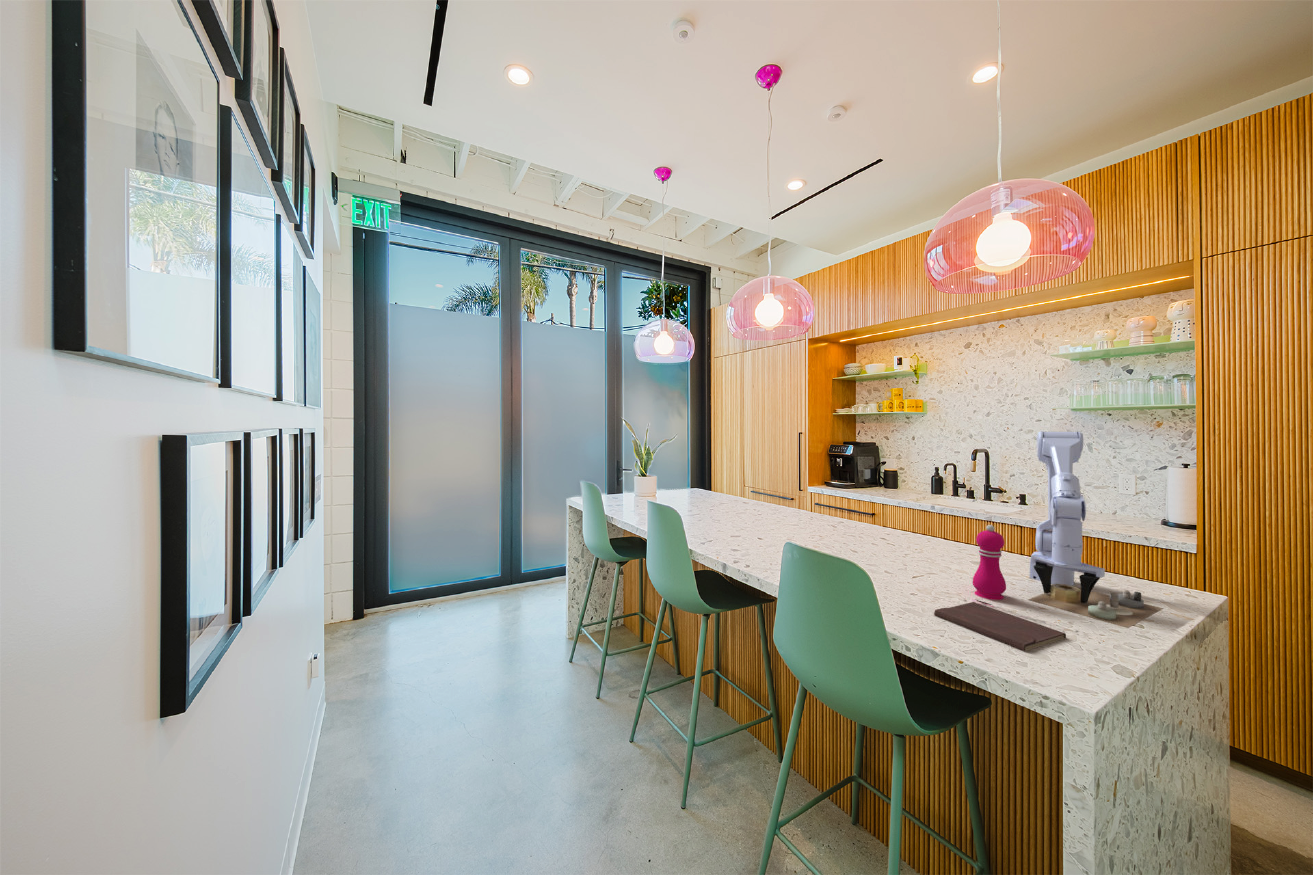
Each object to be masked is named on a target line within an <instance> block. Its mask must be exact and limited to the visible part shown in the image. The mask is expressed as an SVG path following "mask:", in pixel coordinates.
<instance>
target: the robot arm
mask: <svg viewBox="0 0 1313 875" xmlns="http://www.w3.org/2000/svg"><path fill="white" fill-rule="evenodd" d="M1083 449H1084V433H1082V432H1081V431H1080V430H1079V431H1043V430H1039V432H1038V433H1037V434H1036V451H1037V452H1036V456H1037V460H1038V461H1039V462H1042V463H1044V464H1045V466H1046V470H1047V502H1048V503H1047V505H1048V506H1047V507H1048V508H1047V510H1048V512H1047V514H1048V515H1047V518H1048V519H1046V520H1044V521H1042V522H1041V523H1039V524H1038V525H1037V526H1036V530H1035V550H1036V551H1034V552H1033V553H1032V554H1031V556H1030V558H1029V579H1032V580H1035V581H1040V582H1041V586H1042V589H1043V594H1044V593H1046V594H1047V593H1050V592H1051V585H1052V584H1054V583H1056V584H1066V585H1070V586H1075V572H1077V573H1081V574H1080V575H1079V582H1080V588H1081V597H1080V600H1081V603H1087V602H1088V598H1089V595H1090V593H1091V591H1093V589H1094V588H1095V585H1096V584H1097V583H1098V581H1099V580H1101V579H1102V578H1104V577H1105V574H1106V568H1103V567H1098V566H1095V565H1092V564H1088V563H1084V562H1082V555H1083V546H1084V543H1083V542H1084V541H1083V522H1084V521H1085V520H1086V518H1087V516H1086V515H1087V504H1086V502H1085V498H1084V496H1083V494H1082V493H1081V492H1082V491H1081V485H1080V484H1081V483H1080V479H1079V477H1078V476H1076V475H1075V474H1074V473H1073V471H1074V468H1073V465H1074V464H1075V463H1078V462H1079V460H1080V459H1081V456H1082V452H1083Z"/></svg>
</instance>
